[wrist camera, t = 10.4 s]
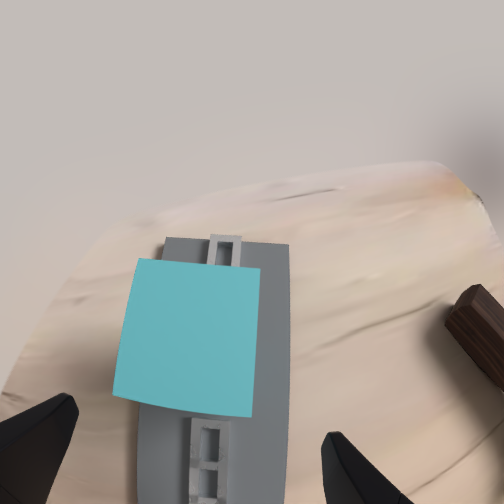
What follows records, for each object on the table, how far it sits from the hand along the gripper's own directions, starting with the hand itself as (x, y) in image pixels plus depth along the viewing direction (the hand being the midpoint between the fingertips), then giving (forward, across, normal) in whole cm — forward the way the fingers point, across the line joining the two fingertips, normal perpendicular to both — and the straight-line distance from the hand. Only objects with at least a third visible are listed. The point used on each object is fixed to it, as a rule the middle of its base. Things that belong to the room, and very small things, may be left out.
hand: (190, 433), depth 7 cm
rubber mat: (+8, 0, +6) cm, 10 cm away
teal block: (+9, 0, +4) cm, 10 cm away
